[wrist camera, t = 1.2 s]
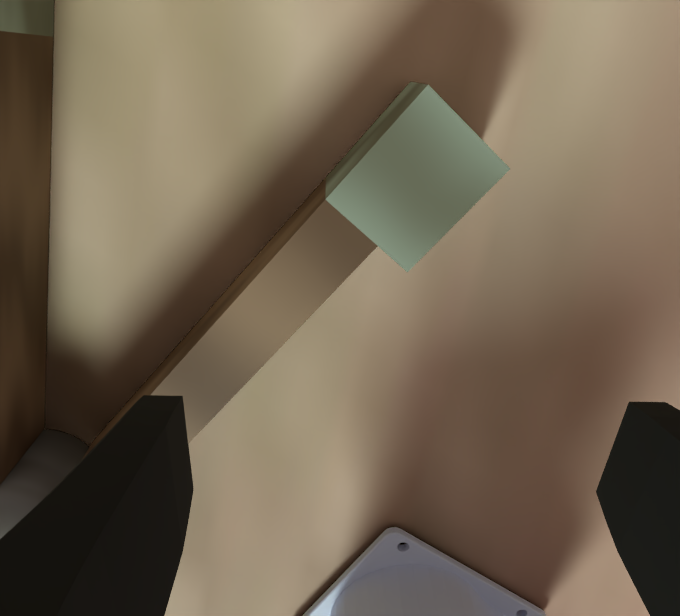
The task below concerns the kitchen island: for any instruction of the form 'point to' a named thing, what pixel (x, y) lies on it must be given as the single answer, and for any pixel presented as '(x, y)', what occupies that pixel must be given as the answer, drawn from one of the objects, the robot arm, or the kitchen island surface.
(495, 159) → the bar
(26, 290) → the fixed tong arm
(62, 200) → the kitchen island surface
